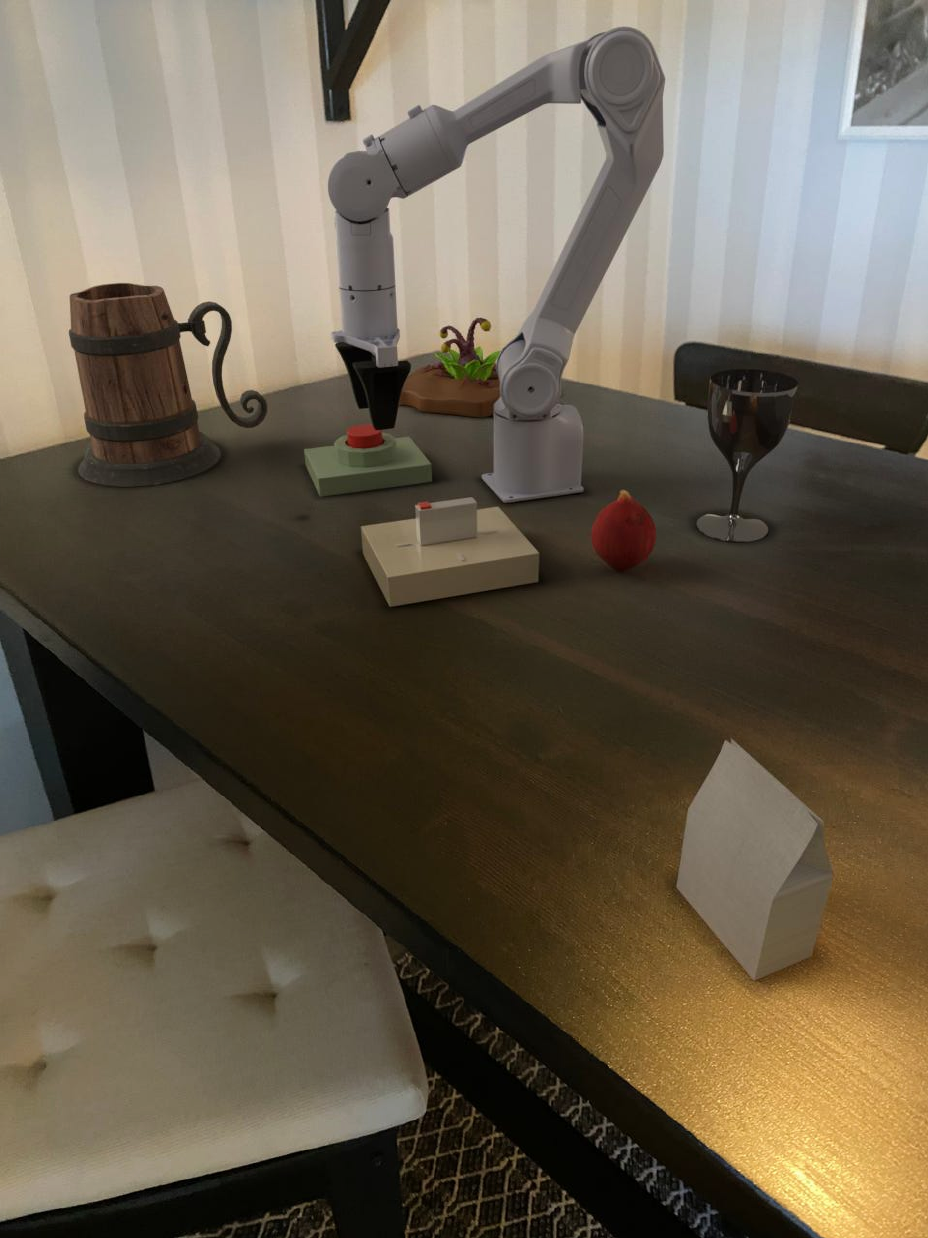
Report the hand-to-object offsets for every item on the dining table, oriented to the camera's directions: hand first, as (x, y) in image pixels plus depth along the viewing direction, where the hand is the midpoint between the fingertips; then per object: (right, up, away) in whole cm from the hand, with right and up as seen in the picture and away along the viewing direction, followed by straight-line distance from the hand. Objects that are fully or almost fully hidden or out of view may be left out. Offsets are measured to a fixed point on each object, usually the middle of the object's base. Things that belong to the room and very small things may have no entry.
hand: (375, 417), depth 97 cm
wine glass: (+37, -13, -5) cm, 39 cm away
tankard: (-26, -2, +15) cm, 30 cm away
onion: (+24, -18, -13) cm, 33 cm away
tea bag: (+25, -38, -48) cm, 67 cm away
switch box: (+8, -14, -14) cm, 21 cm away
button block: (-2, -5, +8) cm, 10 cm away
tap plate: (+8, -17, -12) cm, 22 cm away
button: (-2, -2, +7) cm, 7 cm away
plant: (+11, +11, +34) cm, 38 cm away
